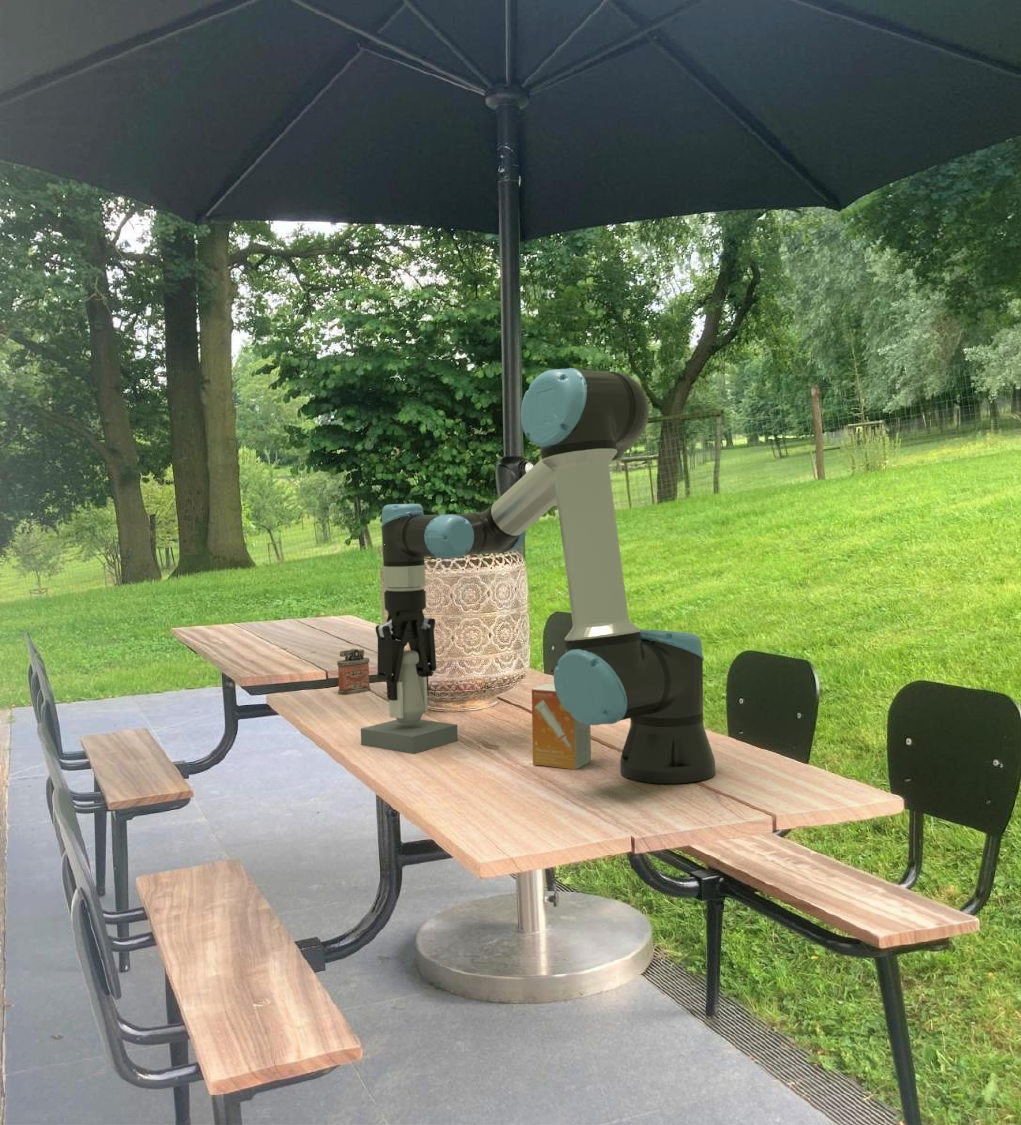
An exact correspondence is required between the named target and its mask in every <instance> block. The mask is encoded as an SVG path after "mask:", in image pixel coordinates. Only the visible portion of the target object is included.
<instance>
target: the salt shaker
mask: <svg viewBox="0 0 1021 1125" xmlns="http://www.w3.org/2000/svg"><path fill="white" fill-rule="evenodd" d="M418 662H419V655H418V653H417V652H416V651H412V650H409V649H408V650H407V649H404V653H403V659H402V664H401V670H400V676H399V681H398V682H402V689H403V718H401V719H400V718H395V720H397V721H398V722H400V723H409V724H411V723H417V722H419V721H420V719H421V718H422V716H423V714H424V713H425V712H424V709H425V707H424V703H423V698H422V694H421V689H420V685H419V680H418V675H417V671H416V666H415V664H417V663H418ZM421 720H422V719H421Z"/></svg>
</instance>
